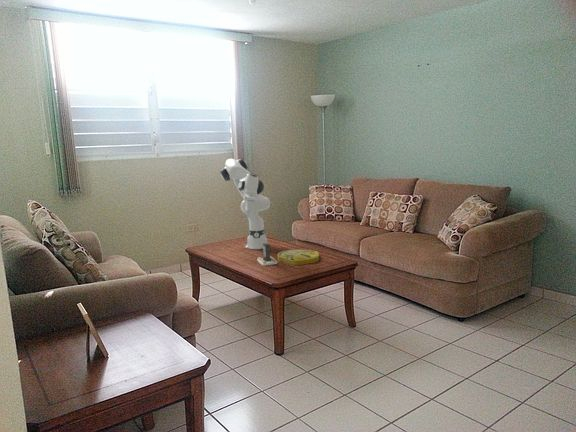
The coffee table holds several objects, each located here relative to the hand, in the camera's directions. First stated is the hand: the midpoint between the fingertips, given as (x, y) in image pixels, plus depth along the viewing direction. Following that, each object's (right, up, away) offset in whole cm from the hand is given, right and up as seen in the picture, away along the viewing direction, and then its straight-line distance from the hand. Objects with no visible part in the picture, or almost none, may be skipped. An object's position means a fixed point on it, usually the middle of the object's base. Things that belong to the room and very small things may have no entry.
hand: (247, 217), depth 300 cm
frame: (+13, -29, +1) cm, 32 cm away
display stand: (+13, -31, +1) cm, 33 cm away
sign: (+35, -29, +8) cm, 46 cm away
